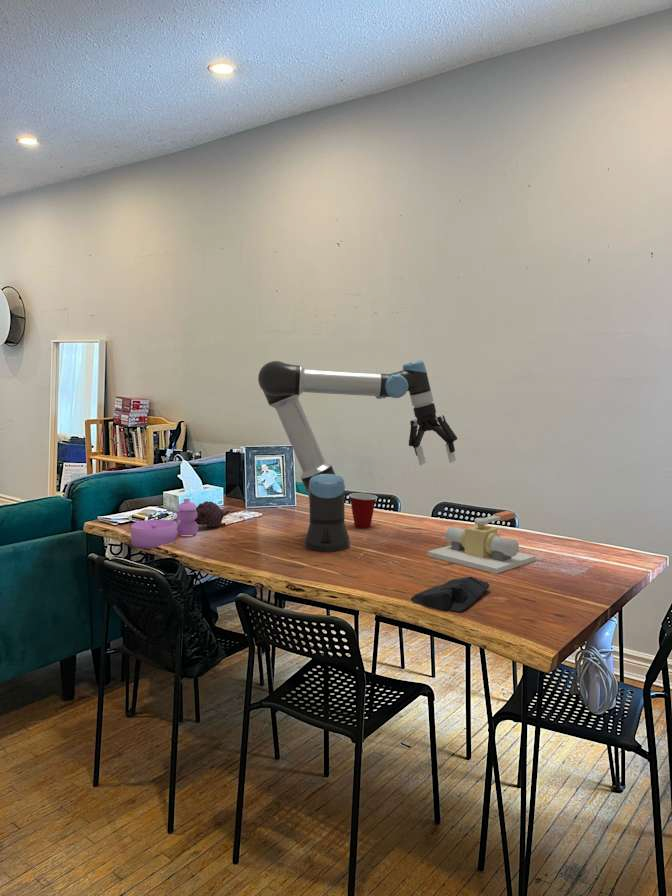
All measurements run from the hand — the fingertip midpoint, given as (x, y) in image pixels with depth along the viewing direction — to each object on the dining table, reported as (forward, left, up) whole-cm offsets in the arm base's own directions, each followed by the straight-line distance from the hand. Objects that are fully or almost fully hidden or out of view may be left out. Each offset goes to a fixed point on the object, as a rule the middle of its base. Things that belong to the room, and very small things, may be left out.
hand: (437, 462), depth 246 cm
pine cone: (-55, +64, -26) cm, 89 cm away
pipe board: (-15, -31, -26) cm, 43 cm away
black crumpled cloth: (-50, -48, -26) cm, 74 cm away
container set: (-75, +58, -26) cm, 99 cm away
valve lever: (-8, -31, -15) cm, 35 cm away
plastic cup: (-11, +26, -26) cm, 39 cm away
